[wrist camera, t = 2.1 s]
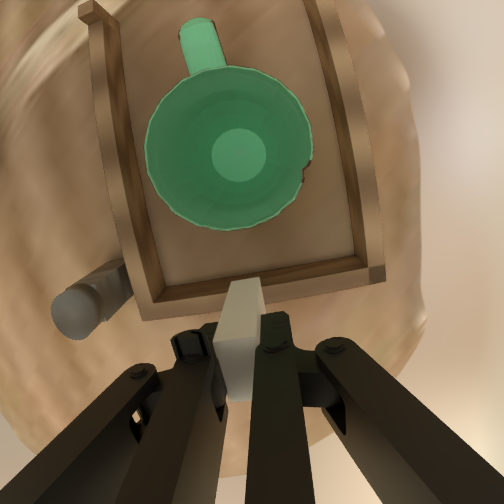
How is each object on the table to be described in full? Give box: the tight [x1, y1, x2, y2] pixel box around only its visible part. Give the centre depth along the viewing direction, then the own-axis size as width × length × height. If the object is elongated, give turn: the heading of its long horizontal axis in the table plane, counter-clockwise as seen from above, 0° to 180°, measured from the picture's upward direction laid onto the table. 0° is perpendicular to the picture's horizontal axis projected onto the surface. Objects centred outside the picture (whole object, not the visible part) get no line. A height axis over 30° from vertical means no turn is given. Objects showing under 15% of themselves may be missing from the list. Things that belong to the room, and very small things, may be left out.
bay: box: [51, 0, 386, 340], centre depth 22 cm, size 29×25×10 cm
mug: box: [144, 17, 314, 232], centre depth 22 cm, size 15×10×10 cm
